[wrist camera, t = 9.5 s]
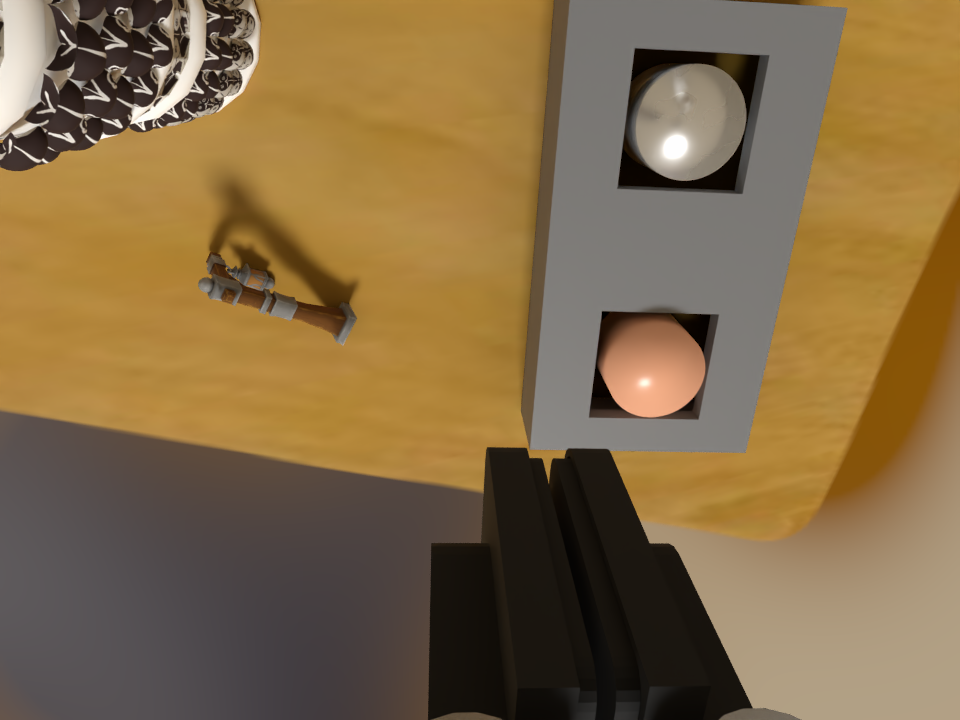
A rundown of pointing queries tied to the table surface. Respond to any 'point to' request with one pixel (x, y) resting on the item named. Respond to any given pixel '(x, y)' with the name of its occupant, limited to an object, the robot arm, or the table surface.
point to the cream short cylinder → (684, 120)
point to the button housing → (666, 217)
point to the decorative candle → (115, 69)
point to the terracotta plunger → (649, 362)
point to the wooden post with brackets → (271, 298)
